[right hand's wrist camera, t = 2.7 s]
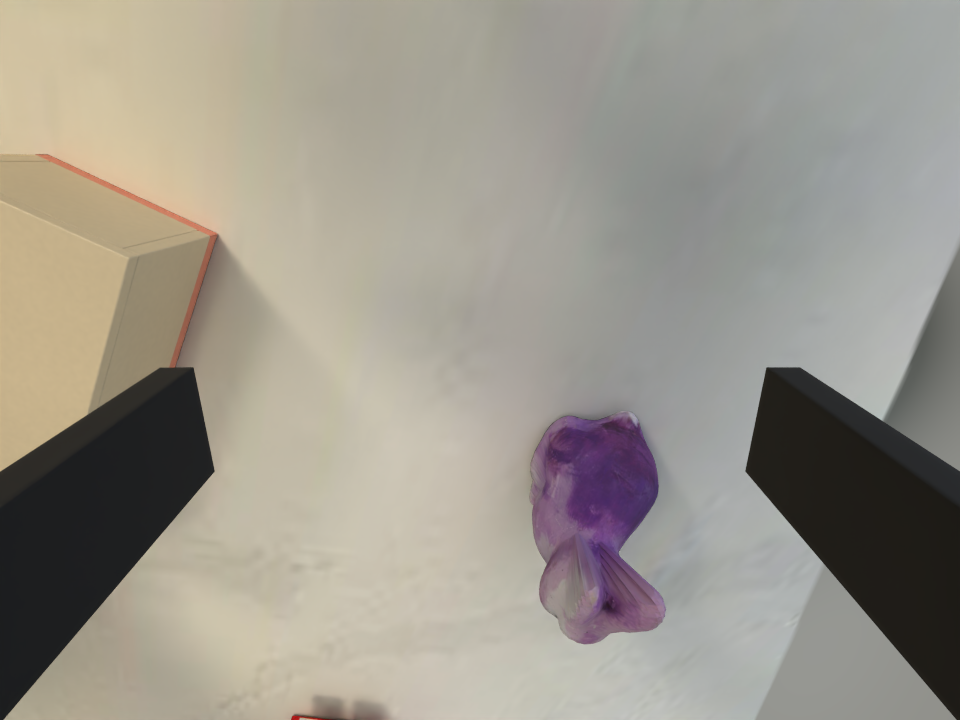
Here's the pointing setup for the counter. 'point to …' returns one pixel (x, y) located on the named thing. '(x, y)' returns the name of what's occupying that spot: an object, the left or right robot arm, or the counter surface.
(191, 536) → the counter surface
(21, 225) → the cabinet
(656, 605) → the figurine
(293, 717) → the toy
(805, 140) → the counter surface
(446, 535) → the counter surface
